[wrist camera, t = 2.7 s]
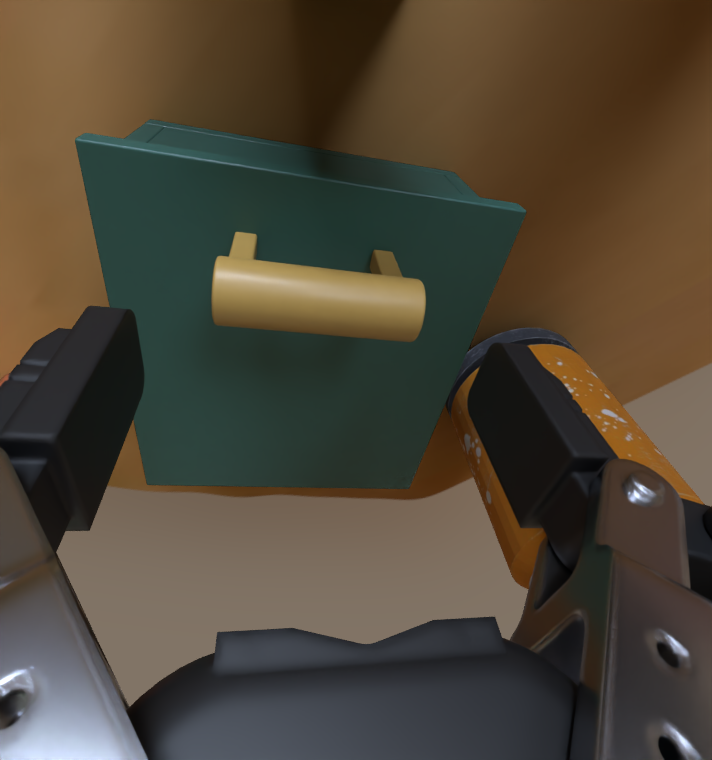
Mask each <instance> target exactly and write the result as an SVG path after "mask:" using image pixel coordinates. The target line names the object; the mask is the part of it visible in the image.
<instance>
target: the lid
mask: <svg viewBox="0 0 712 760" xmlns="http://www.w3.org/2000/svg"><path fill="white" fill-rule="evenodd" d="M75 143H76V148H77V152H78V157H79V162H80V167H81V171H82V176H83V181H84V186H85V191H86V195H87V200H88V205H89V210H90V215H91V219H92V224H93V229H94V234H95V238H96V243H97V248H98V253H99V258H100V262H101V267H102V272H103V277H104V281H105V286H106V291H107V296H108V301H109V305H110V307H111V308H122V309H131V310H132V311H133V312H134V314H135V318H136V323H137V329H138V335H139V341H140V347H141V353H142V359H143V365H144V389H143V394H142V397H141V400H140V402H139V405H138V408H137V410H136V413H135V415H134V418H133V420H134V425H135V430H136V434H137V439H138V444H139V449H140V454H141V458H142V463H143V468H144V473H145V478H146V482H147V485H181V486H245V487H310V488H374V489H409V488H410V485H411V483H412V481H413V478H414V476H415V473H416V471H417V469H418V466H419V464H420V462H421V459H422V457H423V455H424V452H425V450H426V448H427V445H428V443H429V441H430V438H431V436H432V434H433V431H434V429H435V427H436V424H437V422H438V419H439V417H440V415H441V412H442V410H443V408H444V405H445V403H446V401H447V398H448V396H449V394H450V391H451V389H452V387H453V384H454V382H455V380H456V377H457V375H458V372H459V370H460V368H461V365H462V363H463V361H464V358H465V356H466V354H467V351H468V349H469V347H470V344H471V342H472V340H473V337H474V335H475V333H476V330H477V328H478V326H479V323H480V321H481V318H482V316H483V314H484V311H485V309H486V307H487V304H488V302H489V300H490V297H491V295H492V293H493V290H494V288H495V286H496V283H497V281H498V279H499V276H500V274H501V272H502V269H503V267H504V264H505V262H506V260H507V257H508V255H509V253H510V250H511V248H512V246H513V243H514V241H515V239H516V236H517V234H518V232H519V229H520V227H521V225H522V222H523V220H524V217H525V215H526V210H525V209H523V208H522V207H521V206H520V205H519V204H517V203H511V202H505V201H499V200H493V199H487V198H481V197H475V196H469V195H462V194H456V193H450V192H444V191H438V190H432V189H426V188H420V187H414V186H407V185H401V184H395V183H389V182H383V181H377V180H371V179H365V178H359V177H353V176H346V175H340V174H334V173H328V172H322V171H316V170H310V169H304V168H298V167H291V166H285V165H279V164H273V163H267V162H261V161H255V160H249V159H243V158H237V157H230V156H224V155H218V154H212V153H206V152H200V151H194V150H188V149H182V148H175V147H169V146H163V145H157V144H151V143H145V142H139V141H133V140H127V139H121V138H114V137H108V136H102V135H96V134H90V133H84V134H82V135H81V136H79V137H77V138H76V139H75Z"/></svg>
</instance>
